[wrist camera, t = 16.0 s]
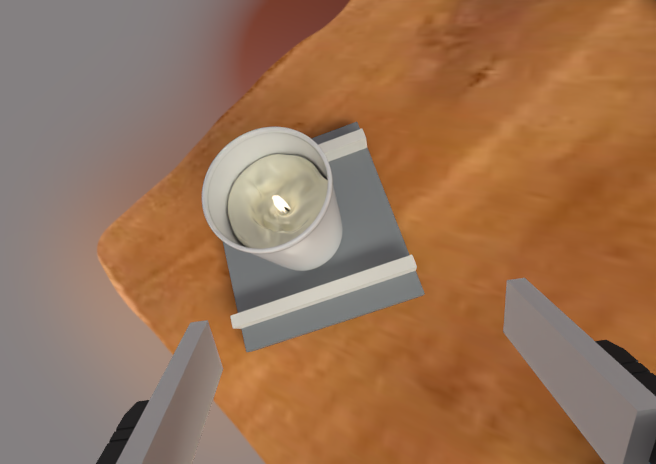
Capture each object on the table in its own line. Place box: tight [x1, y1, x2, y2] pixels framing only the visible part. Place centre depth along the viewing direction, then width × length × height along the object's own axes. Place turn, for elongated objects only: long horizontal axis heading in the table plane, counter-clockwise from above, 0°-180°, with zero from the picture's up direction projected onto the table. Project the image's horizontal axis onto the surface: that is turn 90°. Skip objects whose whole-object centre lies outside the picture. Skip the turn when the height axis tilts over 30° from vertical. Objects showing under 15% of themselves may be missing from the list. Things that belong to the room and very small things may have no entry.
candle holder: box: [202, 127, 343, 271], centre depth 31 cm, size 10×10×12 cm
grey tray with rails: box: [223, 122, 425, 352], centre depth 36 cm, size 20×18×4 cm
